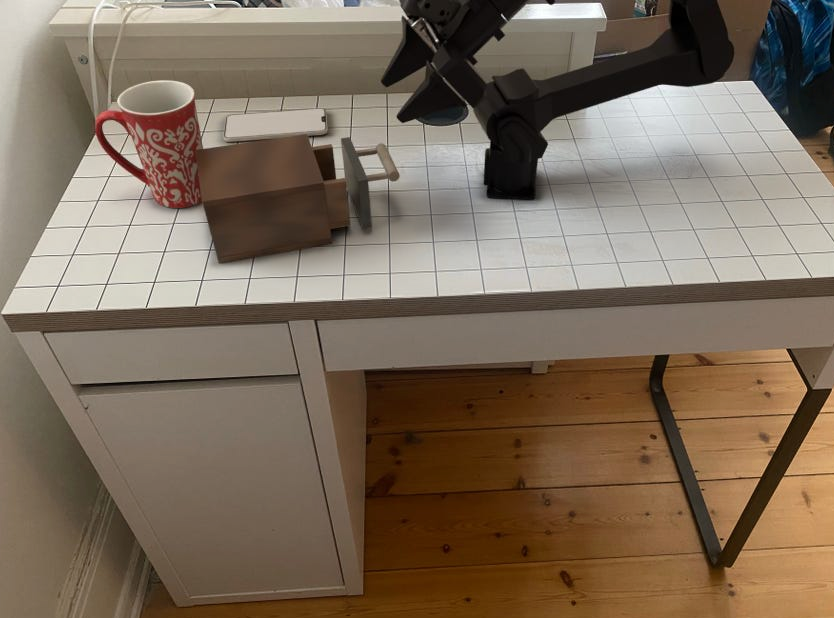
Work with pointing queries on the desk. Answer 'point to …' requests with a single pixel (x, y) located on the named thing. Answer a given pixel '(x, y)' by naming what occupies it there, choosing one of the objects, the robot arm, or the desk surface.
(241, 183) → the cabinet
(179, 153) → the mug
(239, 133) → the smartphone
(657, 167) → the desk surface
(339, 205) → the drawer
